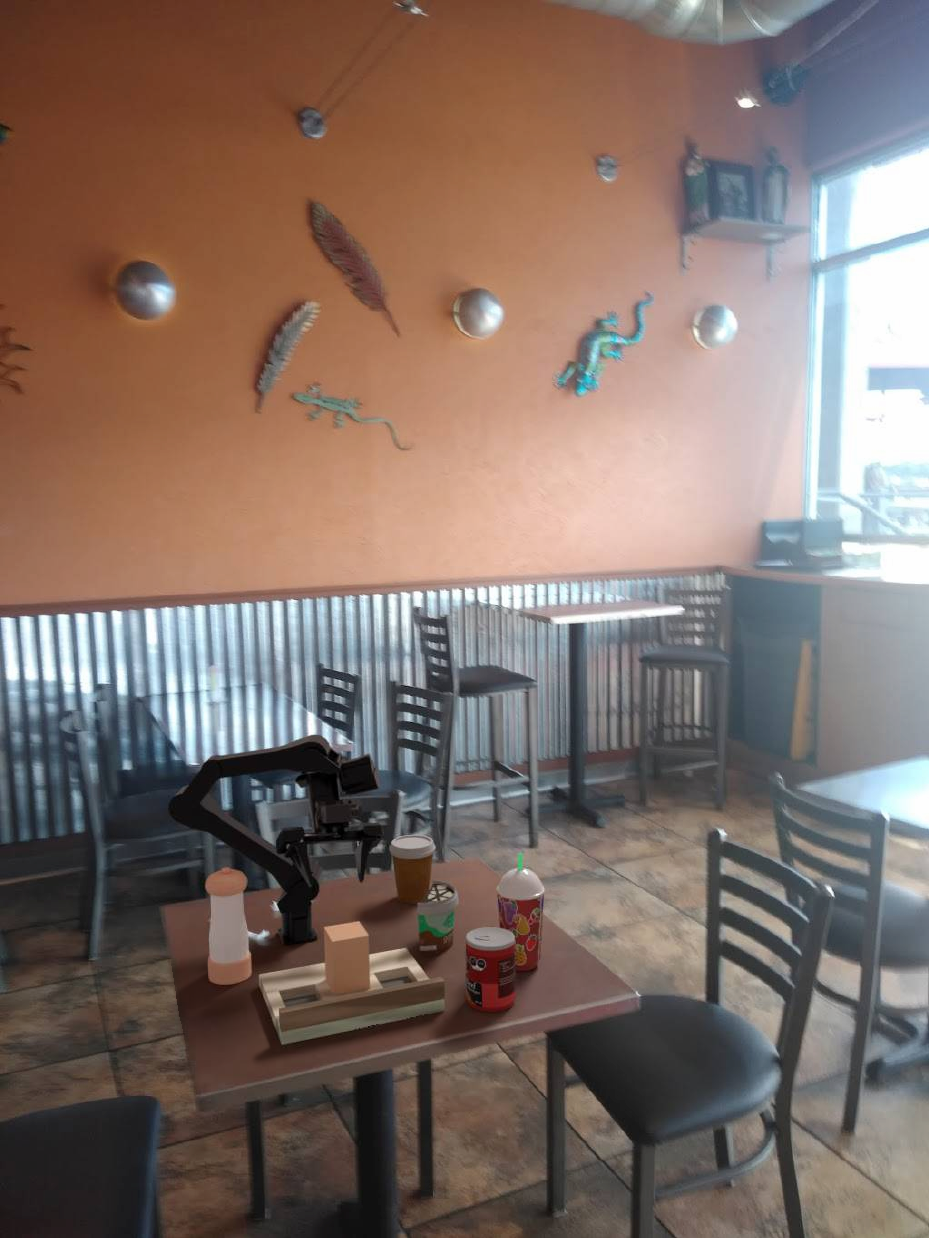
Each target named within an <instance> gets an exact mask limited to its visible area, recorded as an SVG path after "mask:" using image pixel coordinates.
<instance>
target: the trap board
mask: <svg viewBox="0 0 929 1238" xmlns="http://www.w3.org/2000/svg"><path fill="white" fill-rule="evenodd" d="M369 962H370V988H369V989H364V990H359V991H354V992H349V993H344V994H339V995H334V994H333V992H332V990H331V989H330V987H329V985H328V983H327V981H326V979H325V962H322V963H321V962H320V963H315V964H310V965H305V966H298V967H293V968H287V969H283V970H277V971H272V972H266V973H260V974H258V984H259V989H260V991H261V994H262V996H263V1000H264V1002H265V1004H266V1007H267V1010H268V1013H269V1015H270V1017H272V1018H271V1020H272V1023H273V1025H274V1028H275V1031H276V1033H277V1036H278V1038H279V1041H280V1044H281V1045H282V1046H284V1045H288V1044H294V1043H297V1042H298V1043H299V1042H302V1041H308V1040H311V1039H316V1038H322V1037H327V1036H331V1035H336V1034H341V1033H346V1032H349V1031H355V1029H356V1030H359V1028H360V1029H365V1028H368V1026H370V1027H372V1026H371V1025H375V1026H377V1025H376V1024H379V1025H383V1024H388V1023H393V1022H397V1021H402V1020H407V1018H408V1019H411V1018H410V1017H413V1018H417V1017H416V1016H418V1017H420V1016H419V1015H422V1016H425V1015H424V1014H427V1015H431V1014H435V1013H442V1012H445V1011H446V1004H445V1003H446V1001H445V1000H446V999H445V996H446V995H445V994H446V993H445V979H444V978H443V977H442V976H438V977H437V976H436V977H432V978H430V977H429V976H428V975H427V974H426V973H425V971H424V970H423V969H422V967H421V965H420V964H419V963H418V961H416V959H415V958H414V957H413V955H412V954H411V953H410V952H409V950H408V948H407V947H404V948H403V947H402V948H397V949H392V950H387V951H382V952H381V951H380V952H376V953H369ZM364 1027H365V1028H364Z"/></svg>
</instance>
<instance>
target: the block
mask: <svg viewBox="0 0 929 1238" xmlns="http://www.w3.org/2000/svg"><path fill="white" fill-rule="evenodd" d="M323 940H324V963H325V979H326V981H327V983H328V985H329V987H330V989H331V990H332V992H333V994H334V995H339V994H344V993H349V992H354V991H359V990H364V989H369V988H370V962H369V954H370V935H369V933H368V932H367V931H366V929H365V928H364V926H363V925H362V923H361V922H360V920H358V921H353V922H347V923H346V922H345V923H341V924H335V925H328V926H324V927H323Z"/></svg>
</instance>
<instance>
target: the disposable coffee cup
mask: <svg viewBox="0 0 929 1238" xmlns="http://www.w3.org/2000/svg"><path fill="white" fill-rule="evenodd" d="M390 843H391V844H390V846H389V847H388V848H389V849H388V850H389V853H390V854H391V858H392V864H393V866H392V867H393V872H394V879H395V885H396V886H395V888H396V891H397V893H396V894H397V899H398V901H399V900H400V902H401V903H403V904H414V905H415V904H418V903H422V901H423V899H424V897H425V895H426V893H427V892H428V891H429V890H430V889H431V887H430V885H431V877H432V868H433V860H434V859H433V857H434V853H435V851H436V845H435V843H434V840H433V838H431V837H430V836H427V835H426V836H425V835H422V834H421V835H420V834H411V835H410V834H409V835H408V834H407V835H401V836H397V837H395V838H394V839H393V840H391V842H390Z"/></svg>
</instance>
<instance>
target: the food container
mask: <svg viewBox="0 0 929 1238" xmlns="http://www.w3.org/2000/svg"><path fill="white" fill-rule="evenodd" d="M431 882H432V883H431V884H432V885H431V887H430V888H429V891H428V892H427V893H426V895H425V897H424V899H423V901H422V902H421V903H417V909H416V911H417V912H416V913H417V914H416V916H417V917H418V918H417V919H418V920H417V921H418V922H417V923H418V939H419V940H418V941H419V955H427V956H428V955H435V954H440V953H444V952H446V951H448V950H449V949H451V948H452V946H453V945H454V933H455V932H454V931H455V915H456V907H457V906H458V905H459V895H458V892H457V890H456V888H455V886H454V885H452V884H451V883H449V882H447V881H443V880H438V879H432V881H431Z"/></svg>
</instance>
